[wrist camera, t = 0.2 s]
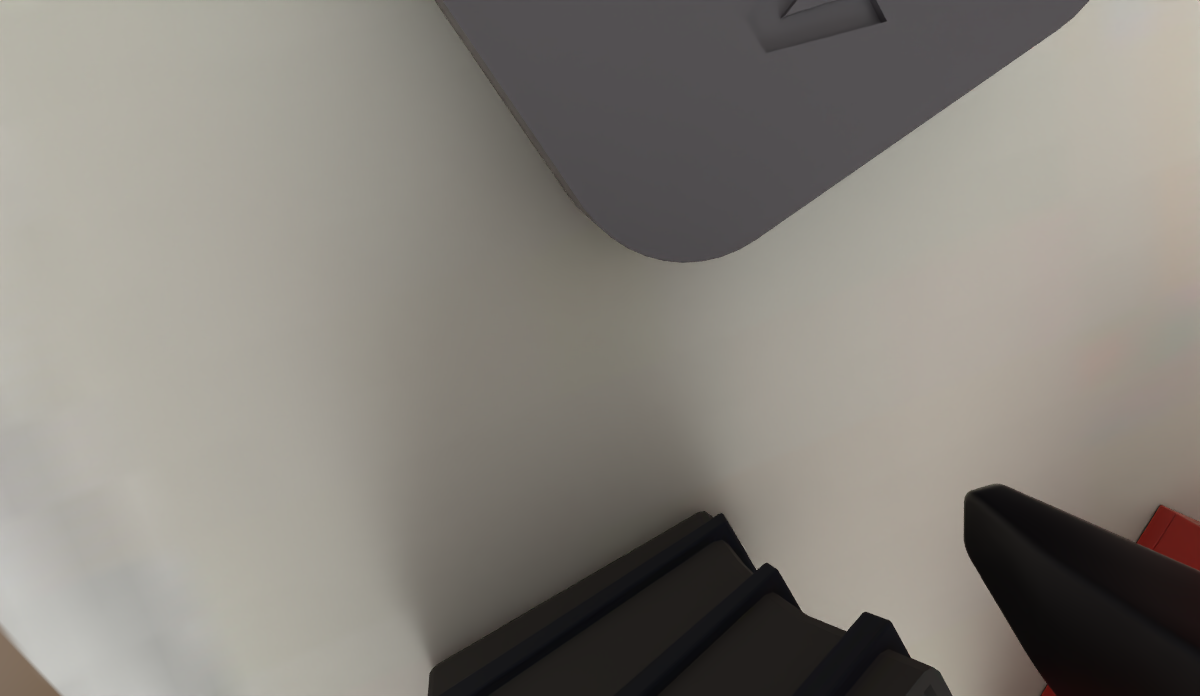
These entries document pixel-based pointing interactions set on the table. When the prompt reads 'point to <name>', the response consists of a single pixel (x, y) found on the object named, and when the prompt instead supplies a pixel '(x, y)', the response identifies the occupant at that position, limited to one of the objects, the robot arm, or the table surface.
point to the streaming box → (730, 98)
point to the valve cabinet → (1169, 542)
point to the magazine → (684, 634)
